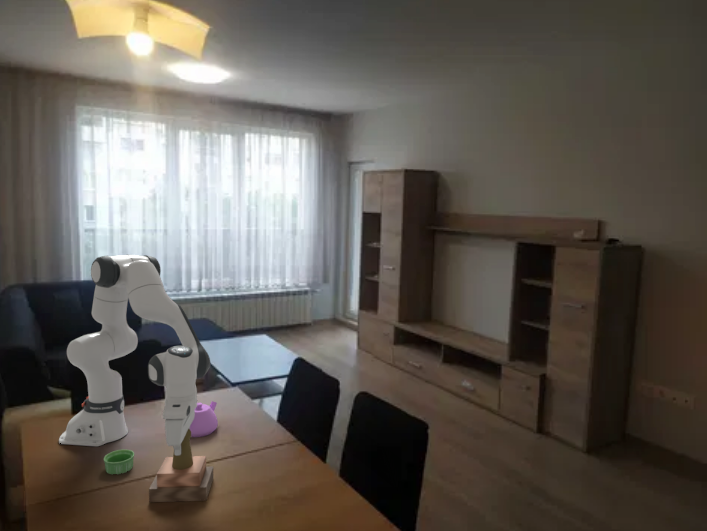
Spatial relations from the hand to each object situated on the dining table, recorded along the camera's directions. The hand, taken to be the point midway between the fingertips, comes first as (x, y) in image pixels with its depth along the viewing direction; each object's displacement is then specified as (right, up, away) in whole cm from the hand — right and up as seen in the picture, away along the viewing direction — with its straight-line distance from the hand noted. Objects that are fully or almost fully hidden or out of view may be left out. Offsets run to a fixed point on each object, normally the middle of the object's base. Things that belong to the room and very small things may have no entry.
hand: (182, 446), depth 151 cm
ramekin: (-25, -12, +13) cm, 30 cm away
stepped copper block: (0, -14, +1) cm, 14 cm away
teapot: (-7, -9, +43) cm, 44 cm away
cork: (0, -6, +1) cm, 6 cm away
